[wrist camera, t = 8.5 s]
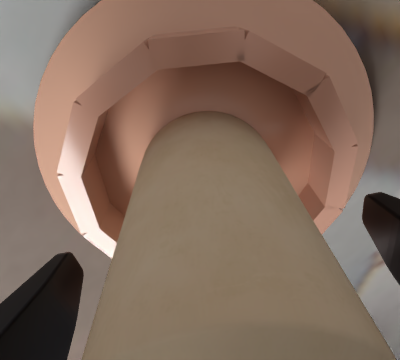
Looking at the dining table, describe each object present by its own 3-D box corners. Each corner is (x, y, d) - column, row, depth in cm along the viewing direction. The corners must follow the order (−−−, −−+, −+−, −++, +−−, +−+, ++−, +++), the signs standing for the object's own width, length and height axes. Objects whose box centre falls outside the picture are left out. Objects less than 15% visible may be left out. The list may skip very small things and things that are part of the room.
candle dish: (403, 189, 14) (440, 221, 12) (177, 301, 18) (176, 340, 15) (272, -159, 8) (304, -221, 6) (-35, 130, 11) (-84, 157, 9)
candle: (114, 156, 12) (-94, 574, 3) (229, 79, 10) (463, 454, 2) (190, 238, 14) (193, 593, 5) (290, 185, 13) (509, 552, 4)
